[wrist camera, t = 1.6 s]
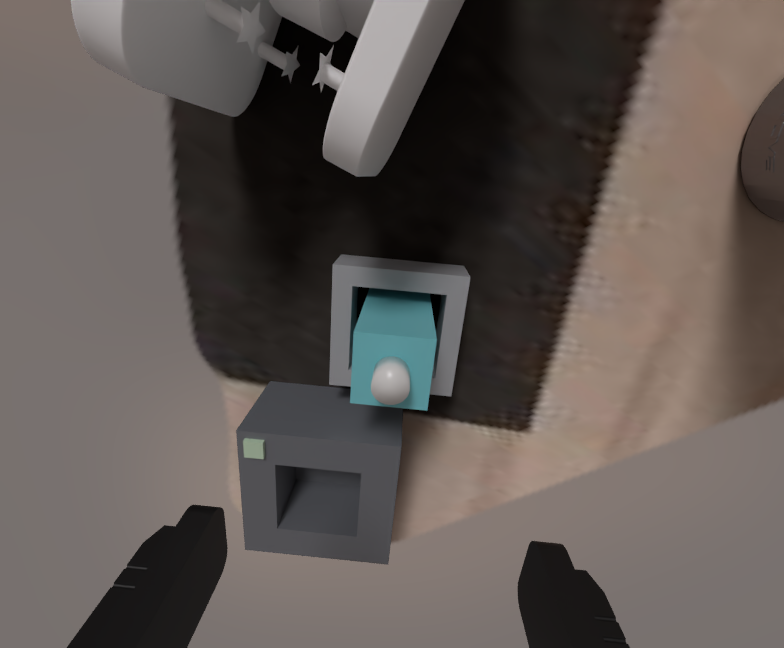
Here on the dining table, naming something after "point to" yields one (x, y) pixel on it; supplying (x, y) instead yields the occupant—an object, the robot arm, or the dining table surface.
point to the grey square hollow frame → (403, 278)
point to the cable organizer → (278, 58)
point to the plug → (393, 350)
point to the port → (319, 473)
